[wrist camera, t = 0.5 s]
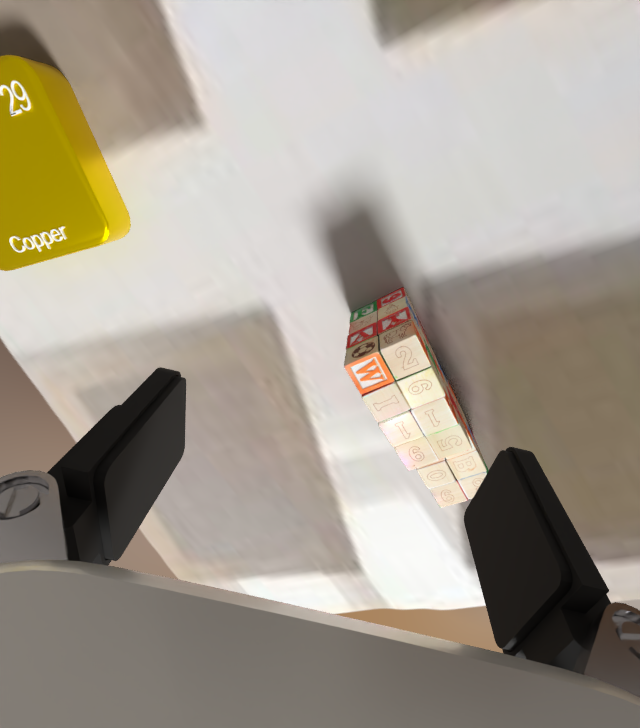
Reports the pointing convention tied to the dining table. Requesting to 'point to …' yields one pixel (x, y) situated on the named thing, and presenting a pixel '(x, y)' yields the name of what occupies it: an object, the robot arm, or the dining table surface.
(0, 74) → the element tile
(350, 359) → the stack of blocks
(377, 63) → the dining table surface
